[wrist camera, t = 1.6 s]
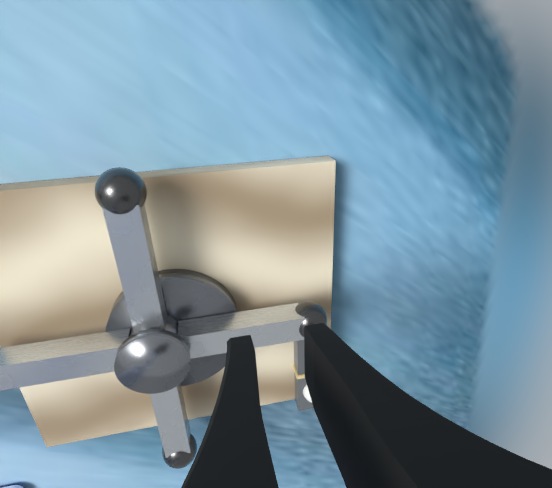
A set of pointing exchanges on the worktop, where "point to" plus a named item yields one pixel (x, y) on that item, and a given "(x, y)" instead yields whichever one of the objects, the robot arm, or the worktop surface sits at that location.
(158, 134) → the worktop surface
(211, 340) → the cam capstan
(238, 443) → the robot arm
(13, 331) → the stand plate
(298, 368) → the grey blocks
